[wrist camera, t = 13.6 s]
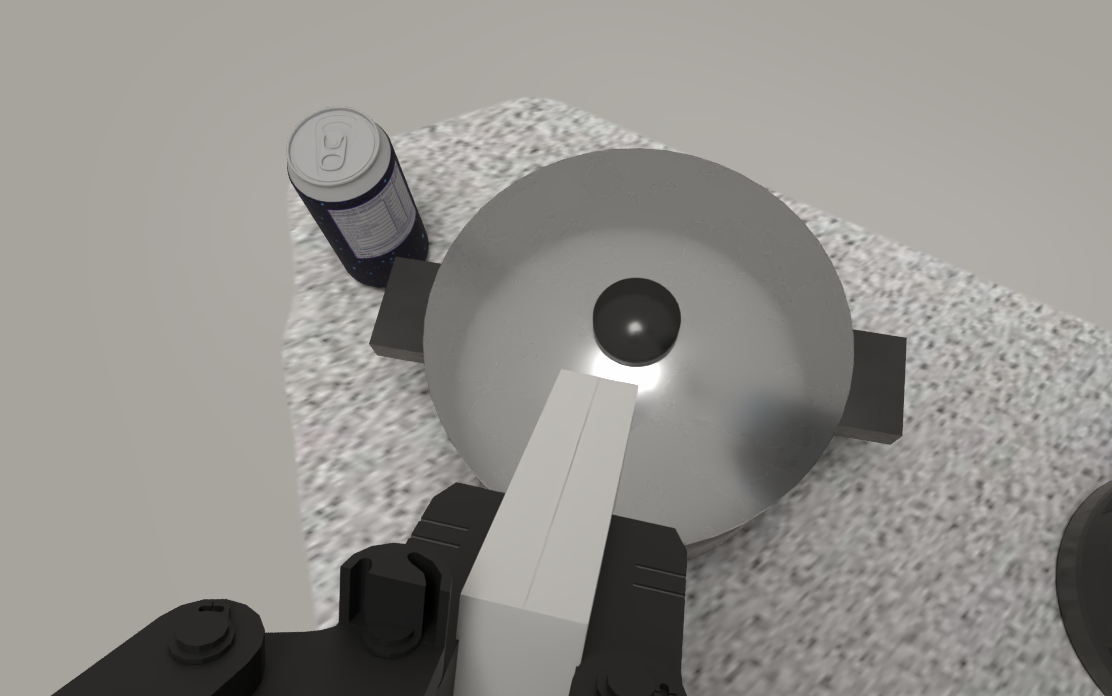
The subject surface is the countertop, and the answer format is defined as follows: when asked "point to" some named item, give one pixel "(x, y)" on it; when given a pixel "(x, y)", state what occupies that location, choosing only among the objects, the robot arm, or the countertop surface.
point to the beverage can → (355, 192)
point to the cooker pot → (864, 417)
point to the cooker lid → (646, 330)
